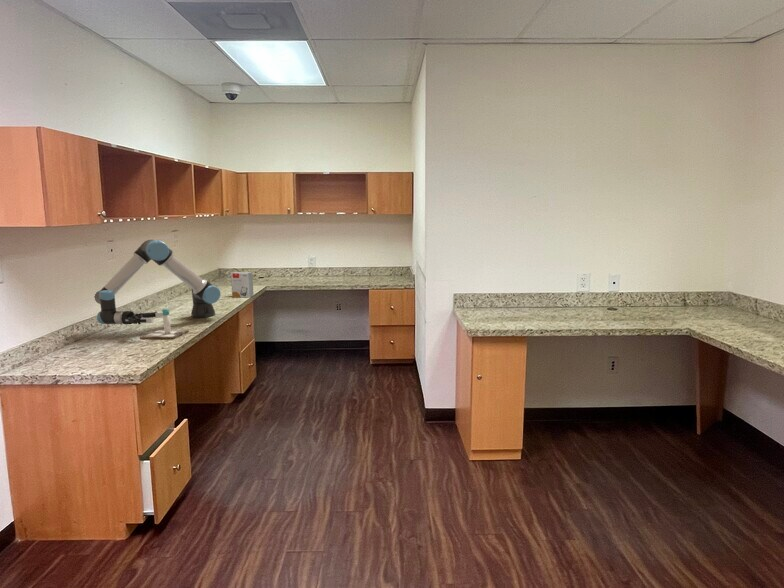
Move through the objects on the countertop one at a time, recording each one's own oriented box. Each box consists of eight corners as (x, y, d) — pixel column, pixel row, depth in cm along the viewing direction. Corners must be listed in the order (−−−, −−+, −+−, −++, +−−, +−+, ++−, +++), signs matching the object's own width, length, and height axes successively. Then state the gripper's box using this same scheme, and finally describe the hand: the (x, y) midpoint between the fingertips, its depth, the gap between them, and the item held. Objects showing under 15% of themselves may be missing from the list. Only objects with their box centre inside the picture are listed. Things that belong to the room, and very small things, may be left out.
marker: (166, 332, 288) (164, 308, 285) (172, 332, 287) (170, 308, 285) (163, 334, 284) (160, 309, 282) (169, 334, 284) (166, 310, 281)
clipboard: (157, 331, 296) (157, 328, 295) (188, 332, 293) (188, 328, 292) (140, 338, 280) (139, 335, 280) (173, 339, 277) (172, 335, 277)
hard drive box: (231, 297, 404) (229, 273, 401) (236, 295, 412) (234, 271, 408) (249, 297, 401) (247, 273, 397) (254, 296, 408) (252, 271, 405)
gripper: (139, 319, 300) (172, 319, 297) (110, 329, 276) (146, 329, 273) (138, 306, 299) (171, 306, 296) (109, 316, 275) (145, 316, 272)
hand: (159, 317), depth 285 cm, fingers open, 13 cm apart
